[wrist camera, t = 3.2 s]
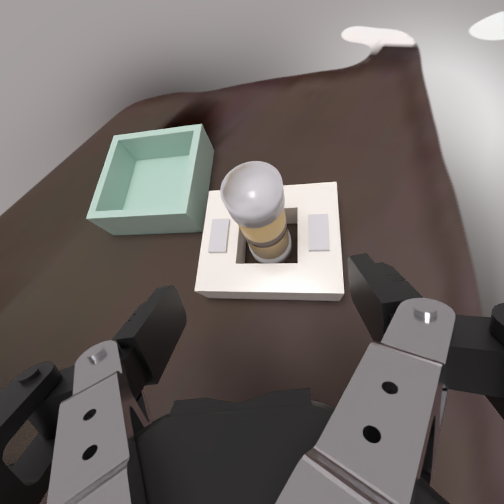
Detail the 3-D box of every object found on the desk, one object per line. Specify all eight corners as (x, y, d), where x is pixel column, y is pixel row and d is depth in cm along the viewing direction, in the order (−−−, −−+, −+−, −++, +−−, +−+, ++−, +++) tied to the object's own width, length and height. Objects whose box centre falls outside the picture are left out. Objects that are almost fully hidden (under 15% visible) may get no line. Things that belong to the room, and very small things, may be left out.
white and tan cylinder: (251, 267, 24) (217, 216, 15) (253, 230, 26) (223, 164, 17) (291, 267, 24) (281, 212, 14) (292, 229, 25) (282, 158, 16)
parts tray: (113, 235, 29) (86, 218, 26) (135, 159, 33) (114, 135, 30) (202, 232, 27) (185, 213, 23) (214, 150, 31) (201, 123, 27)
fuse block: (207, 297, 24) (192, 289, 21) (218, 207, 28) (207, 188, 25) (339, 301, 22) (344, 292, 18) (333, 200, 25) (336, 179, 22)
